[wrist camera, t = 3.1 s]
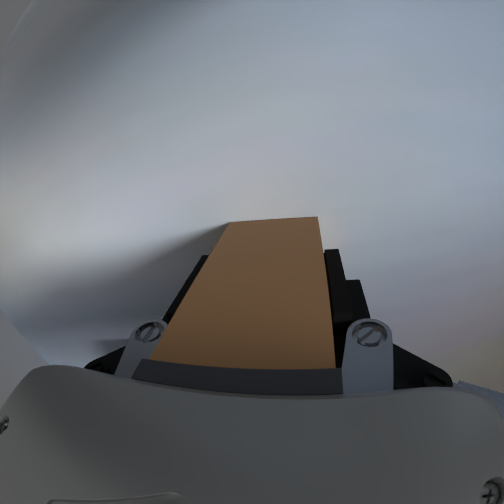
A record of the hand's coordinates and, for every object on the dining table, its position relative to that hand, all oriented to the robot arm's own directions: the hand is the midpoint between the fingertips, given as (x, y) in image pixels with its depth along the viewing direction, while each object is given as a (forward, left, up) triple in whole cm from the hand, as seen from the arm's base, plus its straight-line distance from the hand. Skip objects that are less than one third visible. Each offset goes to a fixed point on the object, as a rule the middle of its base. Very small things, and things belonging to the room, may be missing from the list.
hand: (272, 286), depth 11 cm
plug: (0, 0, -2) cm, 2 cm away
